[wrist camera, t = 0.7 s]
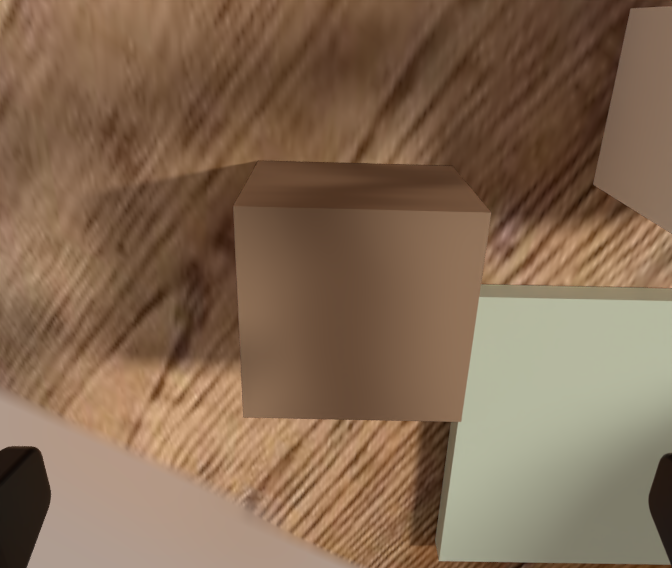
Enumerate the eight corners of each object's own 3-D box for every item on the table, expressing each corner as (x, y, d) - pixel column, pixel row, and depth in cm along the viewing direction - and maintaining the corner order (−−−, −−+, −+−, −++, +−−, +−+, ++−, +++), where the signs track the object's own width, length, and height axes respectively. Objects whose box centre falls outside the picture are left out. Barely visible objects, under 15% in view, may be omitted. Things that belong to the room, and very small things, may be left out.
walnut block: (451, 164, 18) (491, 212, 13) (432, 332, 20) (461, 422, 16) (258, 159, 18) (233, 206, 13) (263, 329, 20) (243, 417, 16)
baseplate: (819, 291, 20) (843, 304, 19) (715, 545, 25) (729, 565, 24) (469, 284, 19) (475, 297, 18) (435, 540, 24) (438, 561, 23)
